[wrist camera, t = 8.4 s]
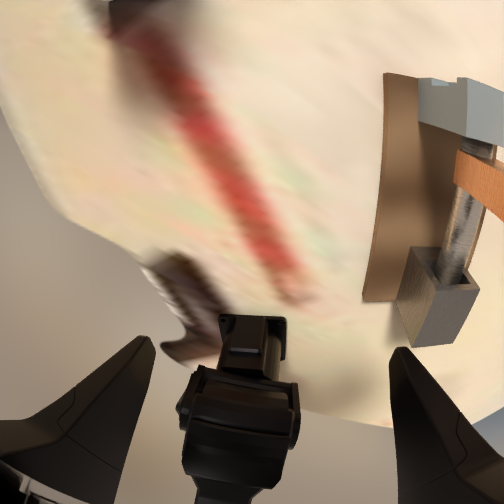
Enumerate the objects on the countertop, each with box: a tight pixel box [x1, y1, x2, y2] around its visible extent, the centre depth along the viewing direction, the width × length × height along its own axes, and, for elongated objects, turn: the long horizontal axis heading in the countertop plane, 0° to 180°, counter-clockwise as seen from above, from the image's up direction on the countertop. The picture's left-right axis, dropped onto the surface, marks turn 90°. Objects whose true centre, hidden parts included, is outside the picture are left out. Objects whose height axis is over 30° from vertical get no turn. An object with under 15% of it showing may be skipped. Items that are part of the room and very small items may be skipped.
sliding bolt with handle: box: [434, 136, 504, 285], centre depth 10 cm, size 14×3×9 cm, turn 3°
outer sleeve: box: [395, 246, 480, 348], centre depth 18 cm, size 6×4×6 cm
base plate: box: [362, 73, 497, 301], centre depth 17 cm, size 18×10×1 cm, turn 3°
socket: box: [418, 78, 504, 147], centre depth 11 cm, size 3×6×6 cm, turn 93°
